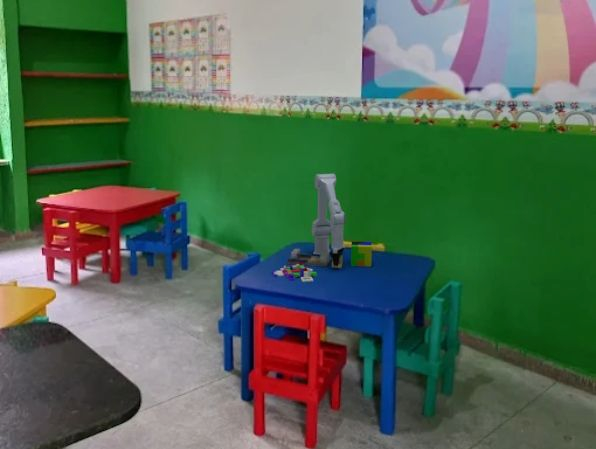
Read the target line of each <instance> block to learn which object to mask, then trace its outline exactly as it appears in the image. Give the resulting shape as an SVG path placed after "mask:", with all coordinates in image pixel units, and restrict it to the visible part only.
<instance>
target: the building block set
mask: <svg viewBox="0 0 596 449" xmlns="http://www.w3.org/2000/svg"><path fill="white" fill-rule="evenodd" d="M305 266H306V265H304V264H303V263H299V264H296V265H290V264H283V266H282V267H281V268H280V270H276V269H275V270H273V269H272V271H271V272H270V273H271V275H274V276H273V277H274V278H278V277H287V278H288V280H289V281H290V282H292V280H293V281H296V278H297V277H299V278H300V280H301V282H302V283H306V282H314V279H313V277H318V274H317V271H314V270H313V269H312V268H309V267H305ZM272 273H274V274H272ZM277 276H278V277H277Z"/></svg>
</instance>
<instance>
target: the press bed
mask: <svg viewBox="0 0 596 449" xmlns="http://www.w3.org/2000/svg"><path fill="white" fill-rule="evenodd" d="M330 261H332V256H330V252H329V251H326V250H323V252H322V253H321V254H319V256H318V255H316V256H315V255H312V254H306V253H303V254H301V253H300V257H299V258H298V259H291V257H290V258H287V262H286V263H287V264H286V265H291V266H294V265H296V264H299V263H303V264H304V265H305V266H307V267H309V266H312V267H324V268H327V267H328V265H329V263H331V262H330Z"/></svg>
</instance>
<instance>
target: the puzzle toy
mask: <svg viewBox="0 0 596 449" xmlns="http://www.w3.org/2000/svg"><path fill="white" fill-rule="evenodd" d="M372 245H373V244H372V241H351V250H350V251H351V252H350V254H351V255H350V257H351V258H350V266H351V267H372V258H373V257H372V256H373V255H372V254H373V253H372V252H373V248H372V247H373V246H372Z"/></svg>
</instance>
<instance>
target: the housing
mask: <svg viewBox="0 0 596 449" xmlns="http://www.w3.org/2000/svg"><path fill="white" fill-rule="evenodd" d="M342 266H343V255H342V256H340V259H339V264H338V266H334V264H333V260H332V259H331V268H335V269H337V268H338V269H341V268H342Z"/></svg>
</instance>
